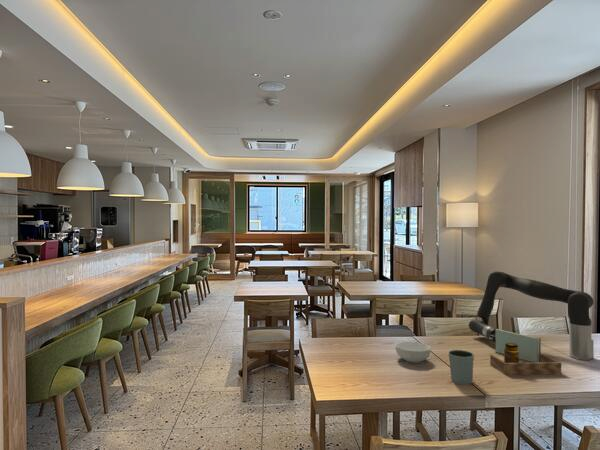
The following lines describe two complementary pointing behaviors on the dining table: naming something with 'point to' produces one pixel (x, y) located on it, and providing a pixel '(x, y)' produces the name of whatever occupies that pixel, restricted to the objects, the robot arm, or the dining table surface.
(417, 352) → the cereal bowl
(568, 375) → the dining table surface
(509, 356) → the condiment
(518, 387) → the dining table surface
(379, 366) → the dining table surface
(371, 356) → the dining table surface
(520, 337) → the cover door
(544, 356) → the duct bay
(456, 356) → the blue-grey cup
